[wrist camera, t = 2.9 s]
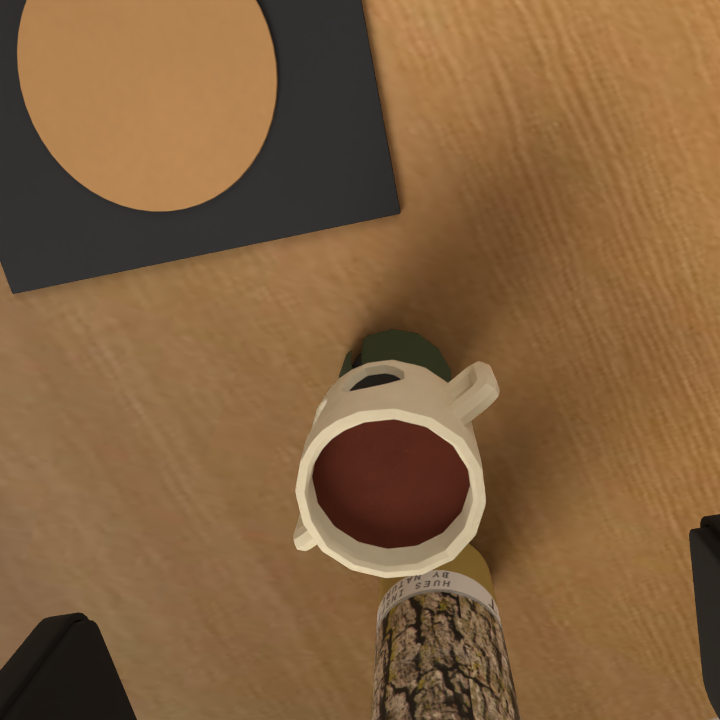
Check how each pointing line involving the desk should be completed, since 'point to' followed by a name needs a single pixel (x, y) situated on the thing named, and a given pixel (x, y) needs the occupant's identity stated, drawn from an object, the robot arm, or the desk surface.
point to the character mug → (395, 460)
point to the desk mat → (181, 130)
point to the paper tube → (442, 646)
